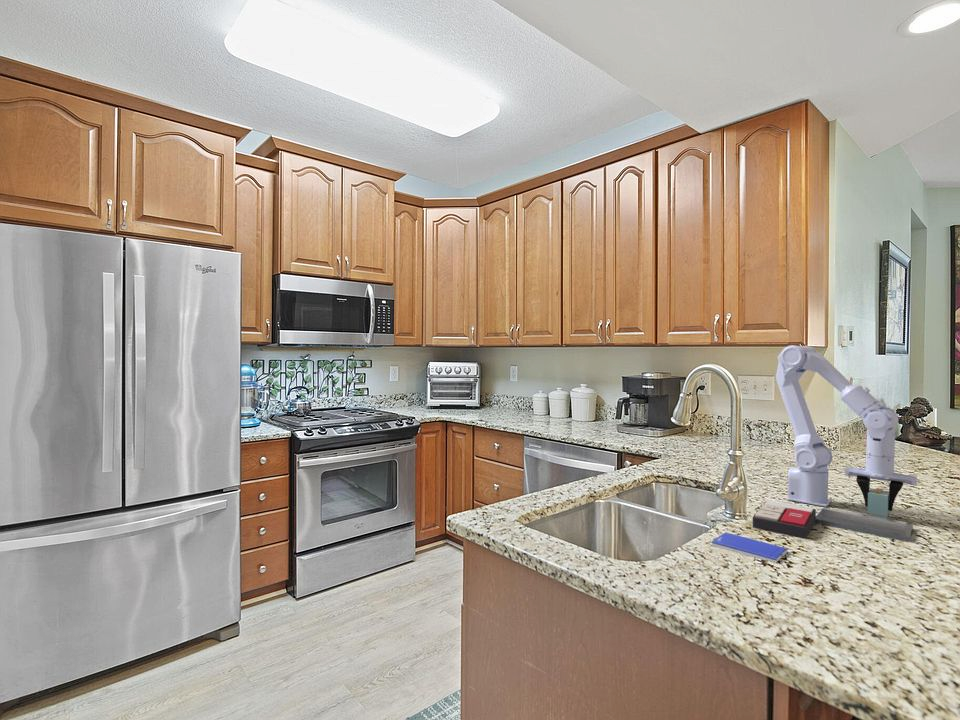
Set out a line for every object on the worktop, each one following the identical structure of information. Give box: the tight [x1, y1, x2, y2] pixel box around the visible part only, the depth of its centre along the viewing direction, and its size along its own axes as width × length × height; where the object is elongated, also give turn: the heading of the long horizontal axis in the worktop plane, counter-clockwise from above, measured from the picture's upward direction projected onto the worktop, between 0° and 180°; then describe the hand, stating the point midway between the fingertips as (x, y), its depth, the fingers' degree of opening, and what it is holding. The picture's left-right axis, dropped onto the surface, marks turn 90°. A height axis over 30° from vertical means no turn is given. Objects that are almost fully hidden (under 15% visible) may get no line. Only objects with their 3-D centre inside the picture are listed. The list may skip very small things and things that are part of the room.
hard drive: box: [711, 532, 789, 564], centre depth 108 cm, size 2×8×12 cm
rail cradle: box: [815, 506, 914, 543], centre depth 124 cm, size 18×12×2 cm, turn 47°
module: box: [866, 487, 891, 519], centre depth 131 cm, size 4×6×7 cm, turn 137°
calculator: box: [752, 499, 817, 539], centre depth 124 cm, size 11×4×15 cm
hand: (878, 508), depth 131 cm, fingers closed on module, 4 cm apart
